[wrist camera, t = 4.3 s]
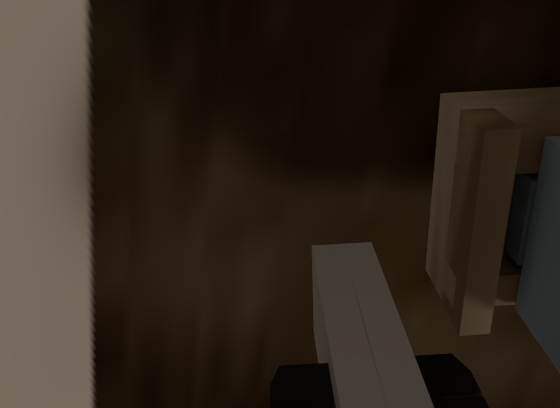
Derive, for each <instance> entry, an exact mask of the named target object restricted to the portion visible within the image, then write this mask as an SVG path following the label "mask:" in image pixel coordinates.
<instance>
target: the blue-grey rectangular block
mask: <svg viewBox="0 0 560 408" xmlns="http://www.w3.org/2000/svg"><path fill="white" fill-rule="evenodd" d="M505 250H506V252H507V253H508V254H509V255H510V257H511V258H512V259H513V260H514V262H515V263H516V264H517V265H522V270H521V276H520V282H519V287H518V293H517V298H516V304H515V310H516V311H517V313H518V314H519V315H520V317H521V318H522V320H523V321H524V323H525V324H526V325H527V327H528V328H529V330H530V331H531V333H532V334H533V335H534V337H535V338H536V340H537V341H538V343H539V344H540V346H541V347H542V348H543V350H544V351H545V353H546V354H547V356H548V357H549V358H550V360H551V361H552V363H553V364H554V366H555V367H556V368H557V370H558V371H559V373H560V136H549V137H545V142H544V147H543V153H542V159H541V164H540V170H539V173H527V174H517V177H516V183H515V189H514V196H513V202H512V208H511V214H510V221H509V227H508V233H507V239H506V246H505Z"/></svg>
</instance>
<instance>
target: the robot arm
mask: <svg viewBox="0 0 560 408" xmlns="http://www.w3.org/2000/svg"><path fill="white" fill-rule="evenodd" d="M312 275H313V317H314V336H315V343H316V350H317V357H318V363H317V364H301V365H285V366H279V368H278V370H277V372H276V374H275V376H274V378H273V380H272V382H271V384H270V405H271V408H489V407H488V405H487V403H486V401H485V399H484V397H482V395H481V391H480V389H479V387H478V385H477V383H476V381H475V379H474V377H473V375H472V373H471V371H470V370H469V369H468V368H467V367H466V366H465V365H463V364H462V363H461V362H460V361H459V360H458V359H457V358H456V357H455V356H454V355H453V354H436V355H420V356H414V353H413V351H412V348H411V346H410V343H409V340H408V338H407V335H406V332H405V330H404V327H403V324H402V322H401V319H400V316H399V314H398V311H397V309H396V306H395V303H394V301H393V298H392V295H391V293H390V290H389V287H388V285H387V282H386V280H385V277H384V274H383V272H382V269H381V266H380V264H379V261H378V258H377V256H376V253H375V250H374V248H373V245H372V243H371V242H366V243H350V244H333V245H316V246H312Z"/></svg>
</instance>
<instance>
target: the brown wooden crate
mask: <svg viewBox="0 0 560 408" xmlns="http://www.w3.org/2000/svg"><path fill="white" fill-rule="evenodd" d="M549 136H560V87H547V88H528V89H510V90H491V91H473V92H454V93H441V94H440V106H439V118H438V129H437V141H436V153H435V164H434V176H433V188H432V199H431V211H430V223H429V235H428V246H427V258H426V271H427V273H428V275H429V277H430V279H431V281H432V283H433V285H434V287H435V288H436V290H437V292H438V294H439V296H440V298H441V300H442V302H443V304H444V306H445V308H446V310H447V312H448V314H449V316H450V318H451V320H452V322H453V324H454V326H455V328H456V330H457V332H458V334H459V336H461V335H479V334H490V330H491V323H492V317H493V311H494V306H500V305H515V304H516V298H517V293H518V287H519V282H520V276H521V270H522V265H517V264H516V263H515V262H514V260H513V259H512V258H511V257H510V255H509V254H508V253H507V252H506V250H505V246H506V239H507V233H508V227H509V221H510V214H511V208H512V202H513V196H514V189H515V183H516V177H517V174H527V173H539V170H540V164H541V159H542V153H543V147H544V142H545V137H549Z"/></svg>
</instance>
